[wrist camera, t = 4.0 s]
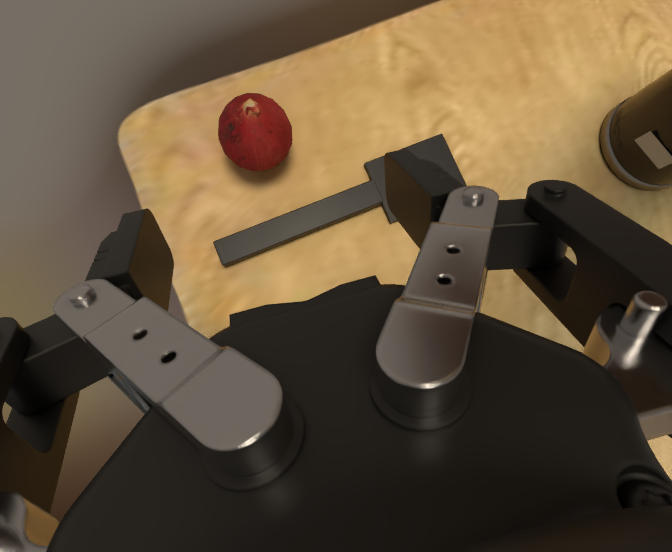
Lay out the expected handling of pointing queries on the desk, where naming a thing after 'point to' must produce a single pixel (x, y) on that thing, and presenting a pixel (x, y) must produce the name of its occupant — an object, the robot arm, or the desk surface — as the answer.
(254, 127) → the onion
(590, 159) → the desk surface
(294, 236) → the spatula
